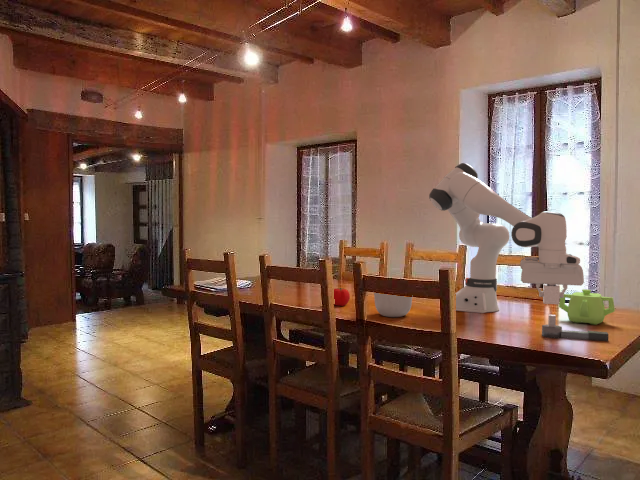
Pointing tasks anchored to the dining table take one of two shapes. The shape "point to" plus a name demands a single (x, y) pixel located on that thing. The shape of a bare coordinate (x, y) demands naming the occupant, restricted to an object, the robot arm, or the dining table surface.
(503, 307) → the dining table surface
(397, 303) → the white rounded bowl
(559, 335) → the ratchet
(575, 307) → the teapot
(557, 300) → the cube with grey knob
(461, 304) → the robot arm
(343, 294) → the tomato
